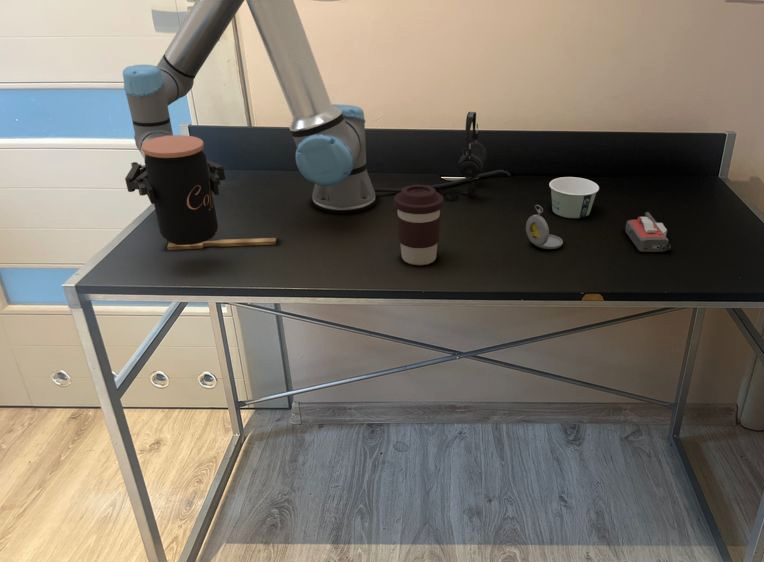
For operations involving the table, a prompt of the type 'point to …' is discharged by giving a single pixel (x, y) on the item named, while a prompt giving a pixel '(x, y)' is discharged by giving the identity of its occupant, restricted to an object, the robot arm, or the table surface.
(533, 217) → the pocket watch
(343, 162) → the robot arm
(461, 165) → the headphones
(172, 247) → the tan flat long part
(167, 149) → the coffee jar
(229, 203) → the table surface
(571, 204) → the food container
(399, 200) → the coffee cup
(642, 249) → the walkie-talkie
